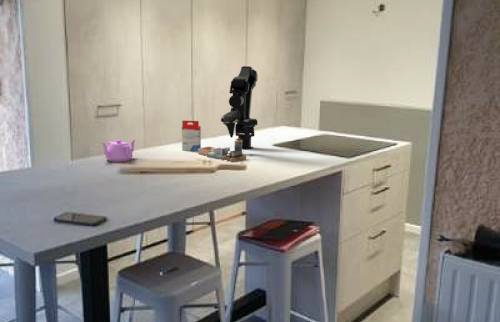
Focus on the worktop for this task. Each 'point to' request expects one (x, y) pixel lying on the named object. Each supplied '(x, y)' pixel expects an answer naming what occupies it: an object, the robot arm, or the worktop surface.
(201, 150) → the salmon pink square tray
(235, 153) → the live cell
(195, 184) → the worktop surface
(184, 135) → the ink box
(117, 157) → the teapot
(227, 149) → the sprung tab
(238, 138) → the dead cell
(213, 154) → the grey flat block
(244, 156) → the trough
